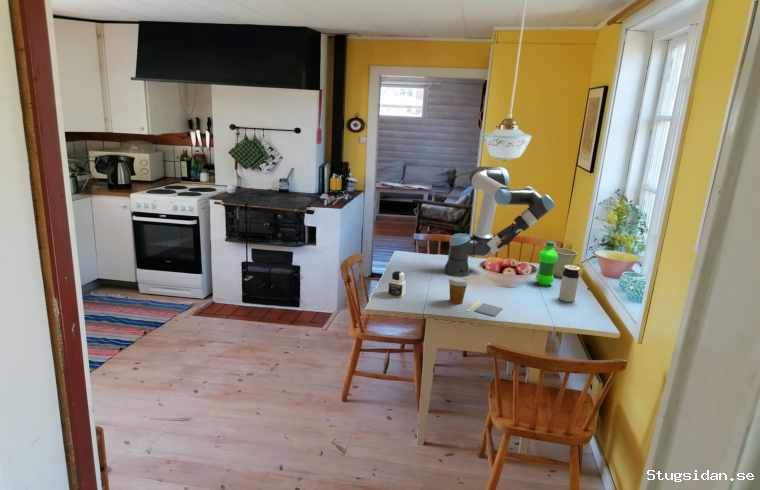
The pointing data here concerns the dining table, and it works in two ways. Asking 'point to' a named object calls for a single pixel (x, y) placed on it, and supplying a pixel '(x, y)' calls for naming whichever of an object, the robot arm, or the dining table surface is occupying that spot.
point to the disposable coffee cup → (457, 289)
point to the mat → (488, 309)
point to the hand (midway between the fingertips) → (490, 248)
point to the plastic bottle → (546, 265)
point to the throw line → (472, 307)
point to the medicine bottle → (397, 285)
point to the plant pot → (563, 260)
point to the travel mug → (569, 283)
